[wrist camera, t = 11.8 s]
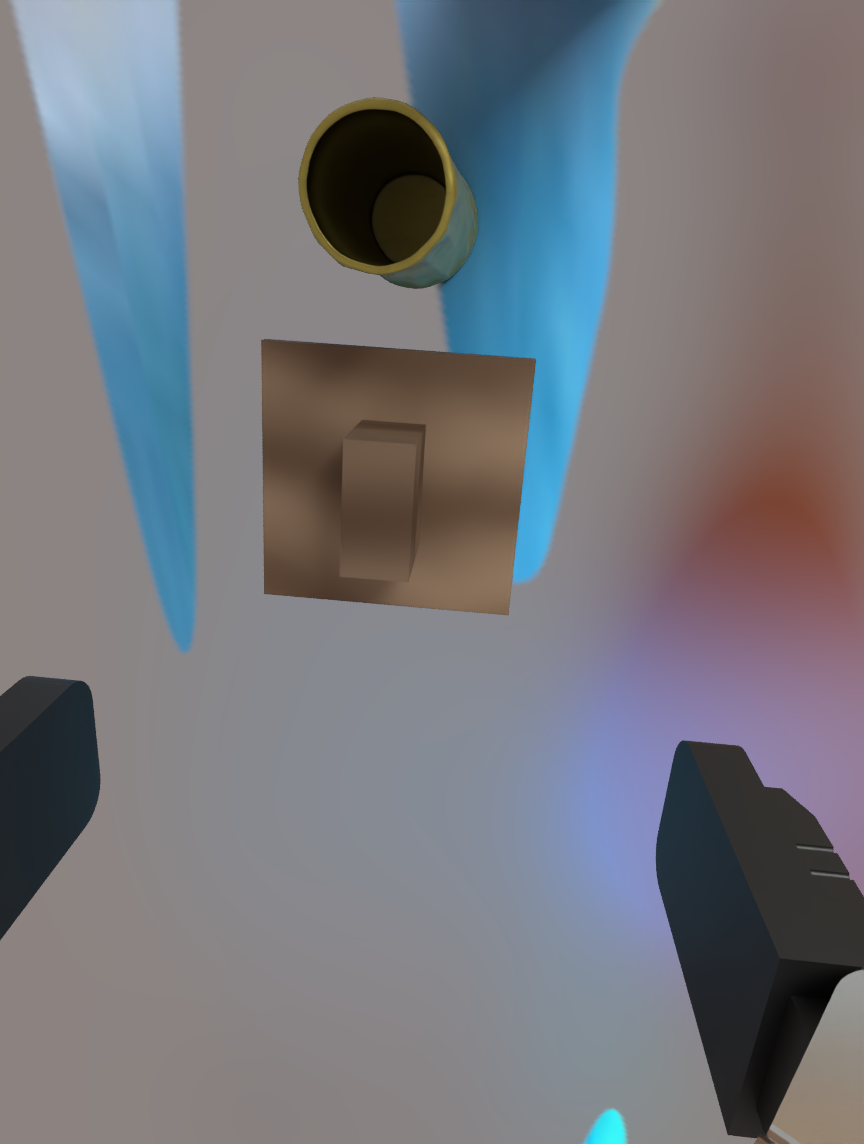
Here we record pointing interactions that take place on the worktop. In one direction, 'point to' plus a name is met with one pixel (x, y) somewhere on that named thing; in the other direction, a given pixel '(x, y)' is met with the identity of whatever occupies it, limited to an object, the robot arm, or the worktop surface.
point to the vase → (387, 194)
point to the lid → (393, 474)
